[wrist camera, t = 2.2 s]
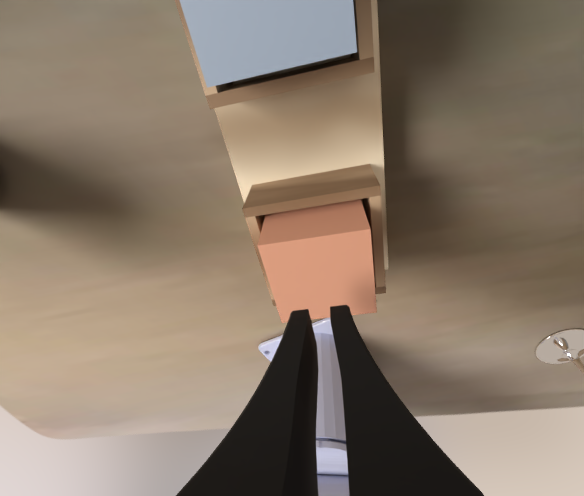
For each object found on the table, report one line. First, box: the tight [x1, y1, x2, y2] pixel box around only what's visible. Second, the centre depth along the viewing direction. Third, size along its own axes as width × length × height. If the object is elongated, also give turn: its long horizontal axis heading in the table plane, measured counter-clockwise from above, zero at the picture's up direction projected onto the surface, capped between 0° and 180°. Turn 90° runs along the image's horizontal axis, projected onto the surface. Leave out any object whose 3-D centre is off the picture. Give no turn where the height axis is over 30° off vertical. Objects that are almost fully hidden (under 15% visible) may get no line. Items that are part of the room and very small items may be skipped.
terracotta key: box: [258, 199, 377, 323], centre depth 15 cm, size 5×5×3 cm
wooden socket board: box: [175, 0, 389, 306], centre depth 15 cm, size 19×8×5 cm, turn 12°
